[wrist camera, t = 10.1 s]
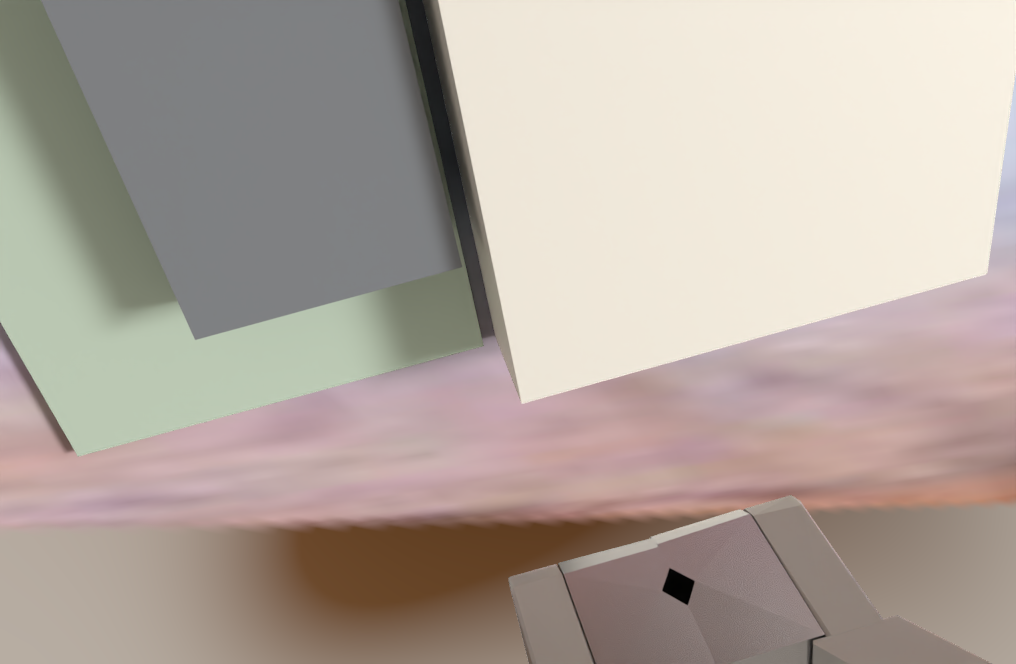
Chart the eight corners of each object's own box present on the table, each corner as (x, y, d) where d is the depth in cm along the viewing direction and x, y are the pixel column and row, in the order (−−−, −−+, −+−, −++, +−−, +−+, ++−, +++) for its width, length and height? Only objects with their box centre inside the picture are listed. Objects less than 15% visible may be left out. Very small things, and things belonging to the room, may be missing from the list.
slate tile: (17, -119, 23) (-6, -102, 21) (344, -194, 23) (353, -185, 21) (199, 296, 29) (195, 339, 27) (447, 229, 30) (462, 267, 28)
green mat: (-375, -344, 19) (-386, -345, 19) (297, -471, 21) (297, -474, 20) (79, 448, 32) (78, 456, 32) (481, 339, 33) (483, 346, 33)
